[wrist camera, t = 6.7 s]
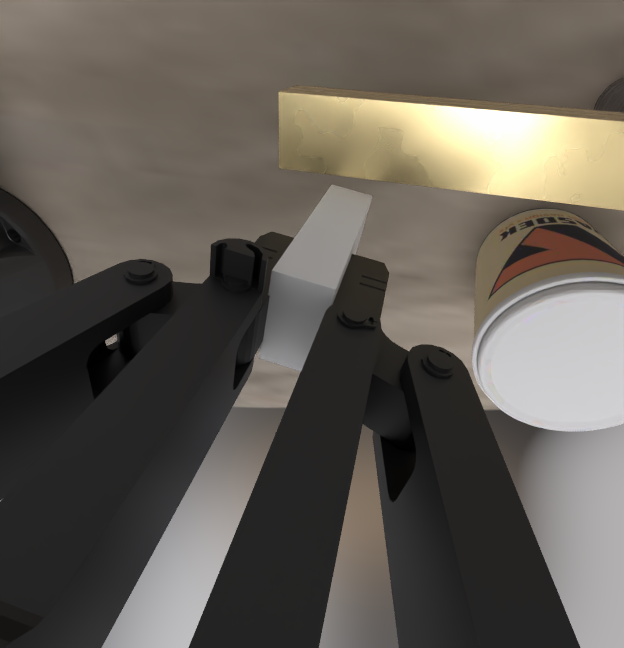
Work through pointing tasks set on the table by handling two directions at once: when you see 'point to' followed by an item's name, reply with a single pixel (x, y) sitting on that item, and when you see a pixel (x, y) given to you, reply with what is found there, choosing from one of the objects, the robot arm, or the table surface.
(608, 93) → the post
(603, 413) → the coffee cup
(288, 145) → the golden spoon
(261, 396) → the table surface
